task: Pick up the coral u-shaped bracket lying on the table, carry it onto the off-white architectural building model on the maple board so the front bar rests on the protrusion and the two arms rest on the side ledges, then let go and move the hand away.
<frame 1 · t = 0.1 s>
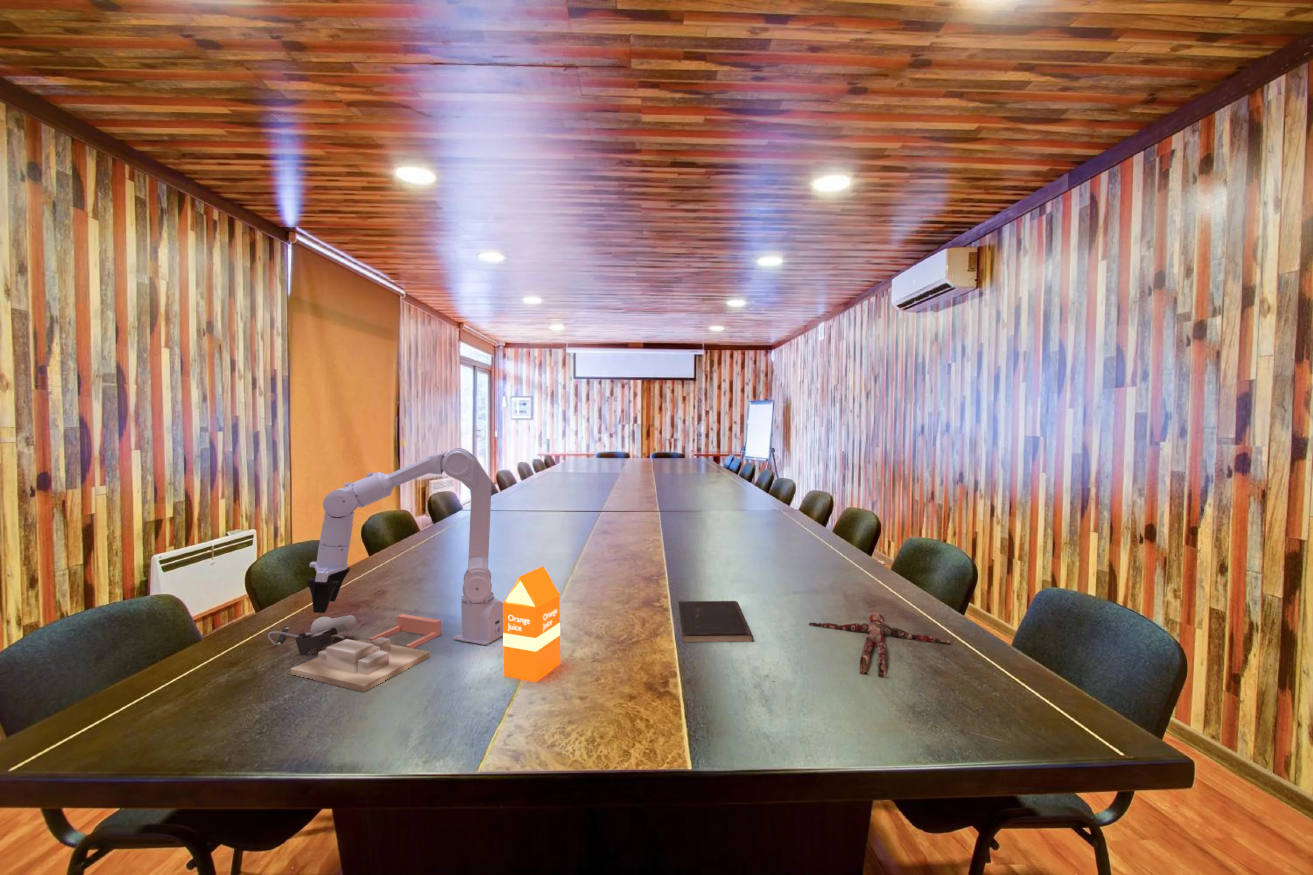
hand: (324, 606, 117), 11 cm above the table, tool pointing down, fingers open, 7 cm apart
mannequin: (874, 649, 119), on the table
clip-on lamp: (309, 645, 123), on the table
u-shaped bracket: (419, 632, 130), on the table
hardcover book: (712, 626, 134), on the table
orange juice: (533, 670, 109), on the table
architectural building model: (362, 665, 112), on the table
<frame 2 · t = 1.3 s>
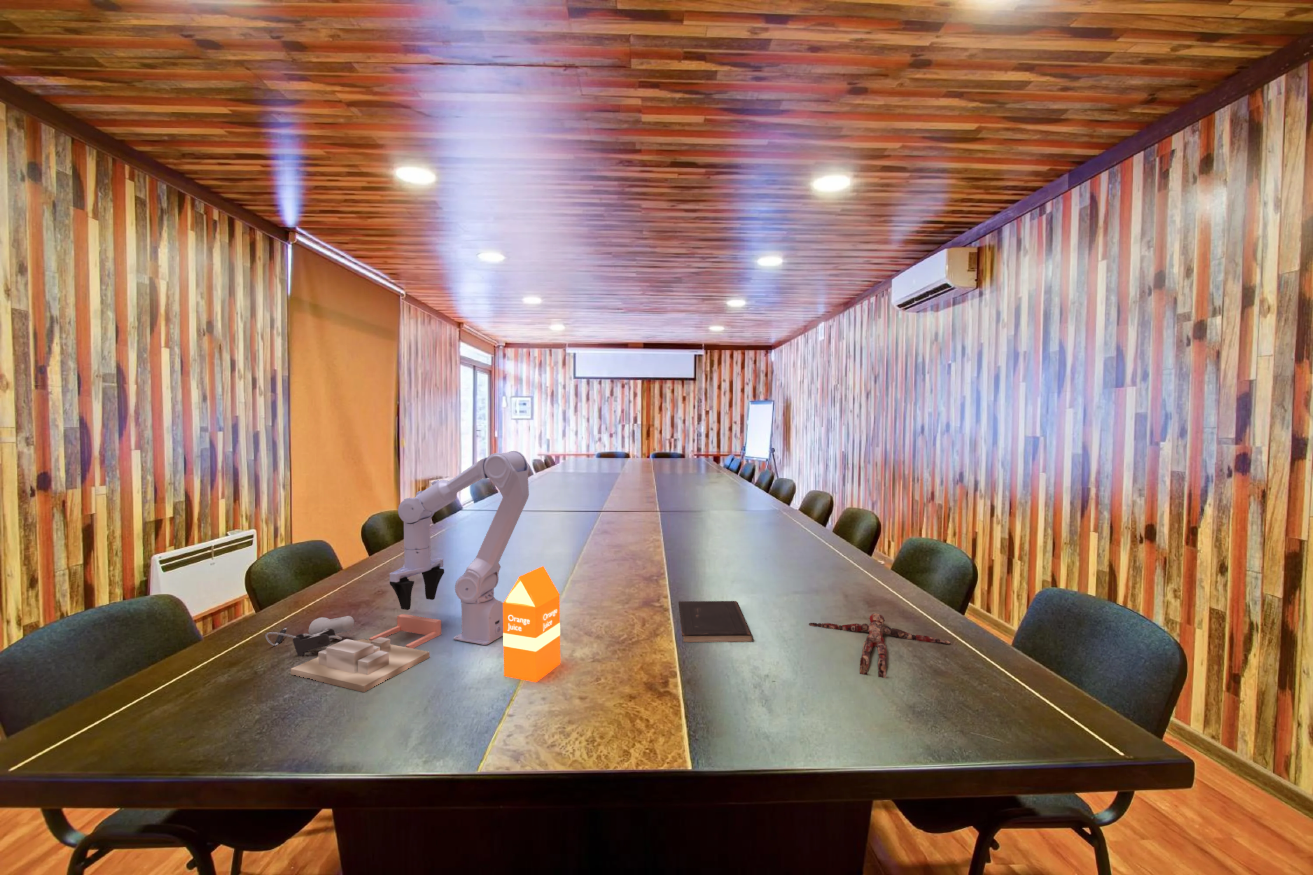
hand: (418, 603, 129), 7 cm above the table, tool pointing down, fingers open, 7 cm apart
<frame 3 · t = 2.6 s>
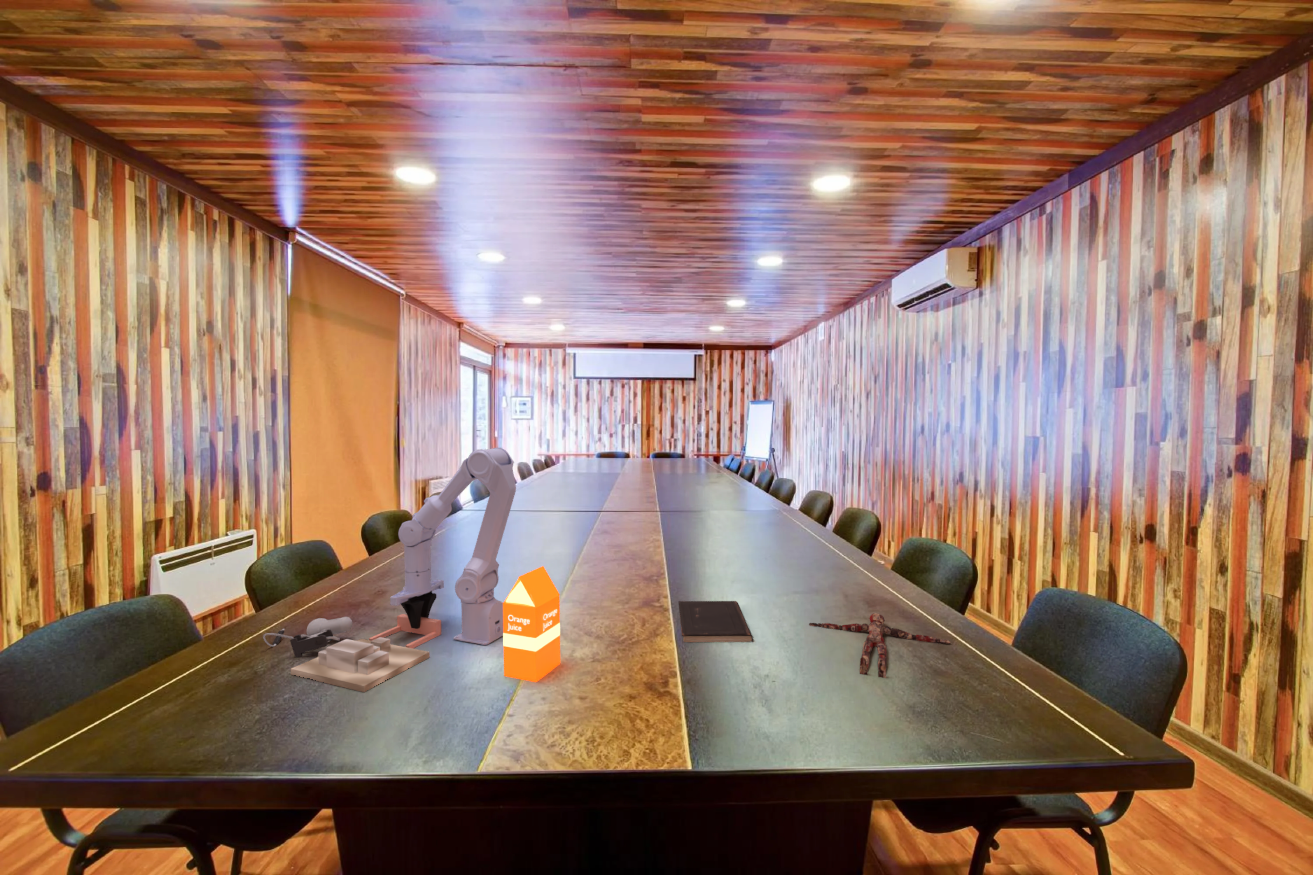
hand: (419, 626, 129), 1 cm above the table, tool pointing down, fingers closed on u-shaped bracket, 2 cm apart
u-shaped bracket: (419, 632, 130), on the table, touching gripper
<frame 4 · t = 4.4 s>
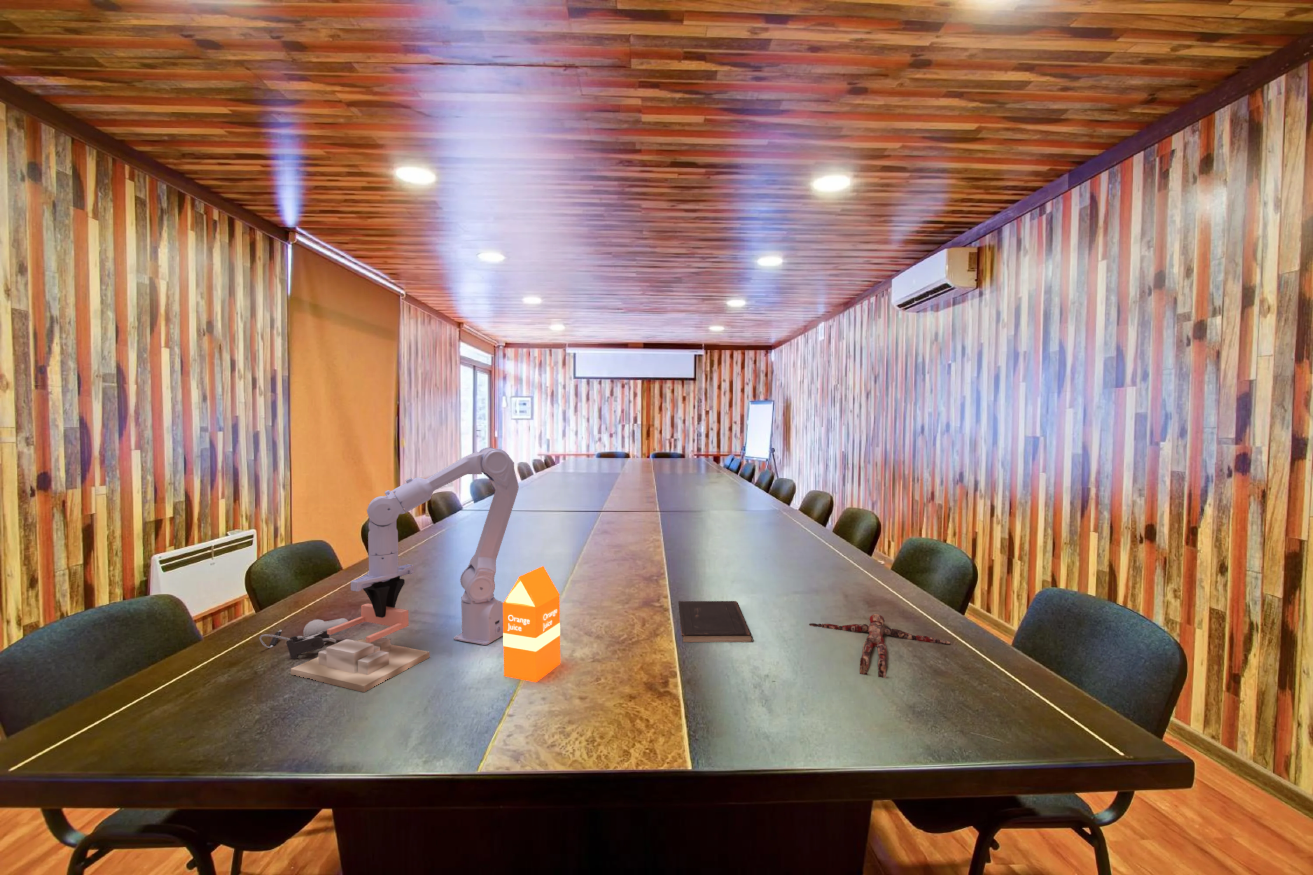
hand: (384, 614, 117), 8 cm above the table, tool pointing down, fingers closed on u-shaped bracket
u-shaped bracket: (384, 623, 117), point 7 cm above the table, touching gripper
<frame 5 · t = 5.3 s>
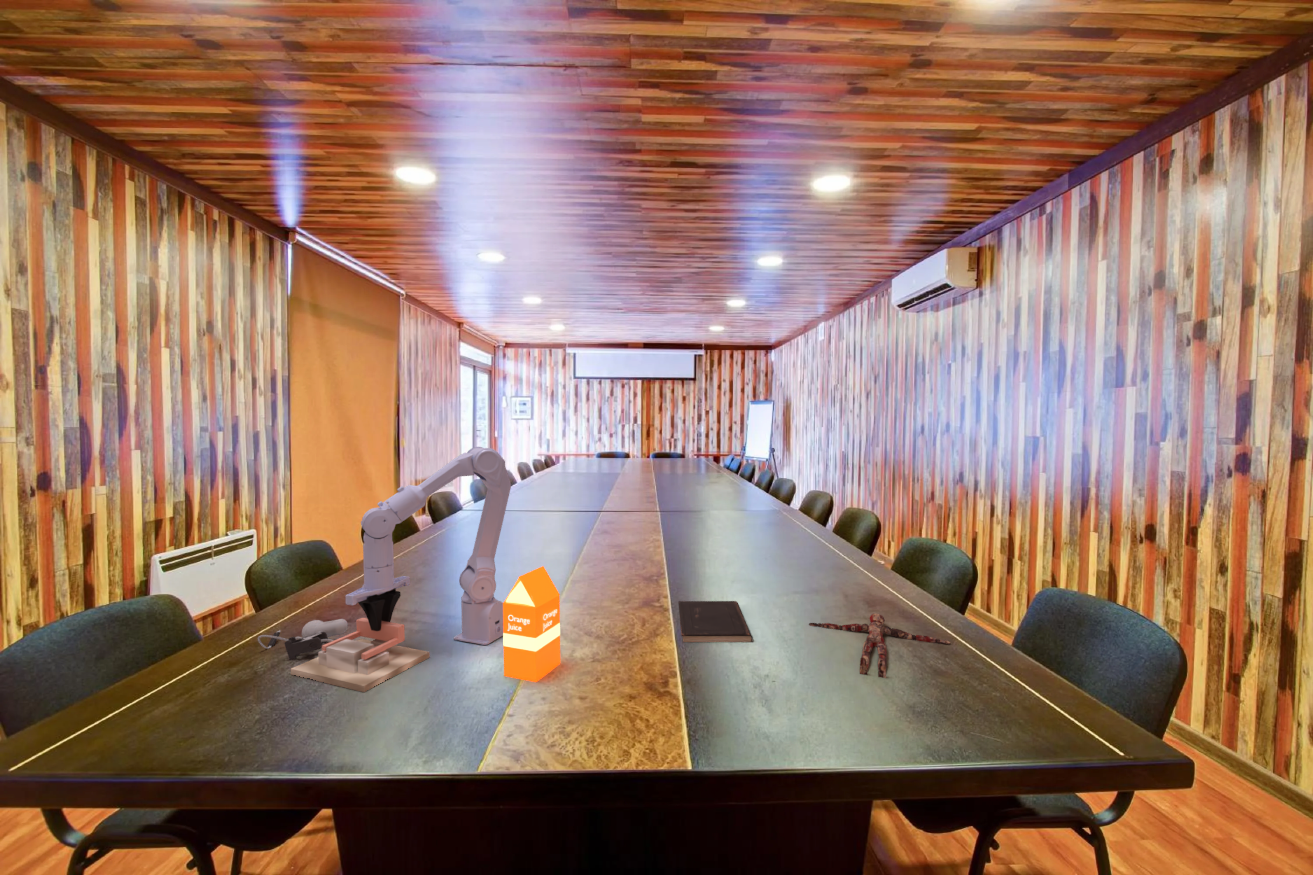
hand: (380, 628, 116), 6 cm above the table, tool pointing down, fingers closed on u-shaped bracket, 2 cm apart
u-shaped bracket: (380, 637, 116), point 4 cm above the table, touching gripper
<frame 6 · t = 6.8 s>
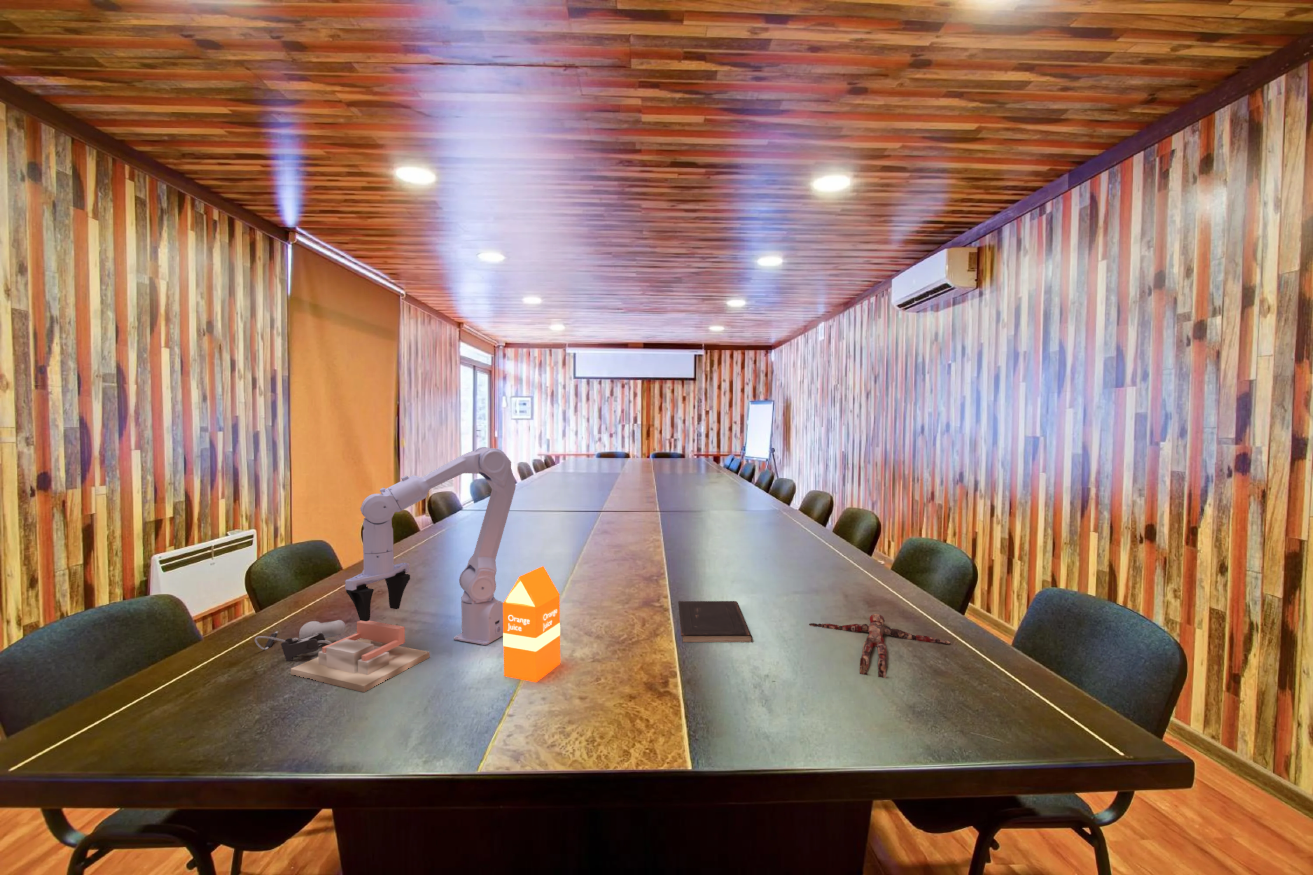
hand: (380, 614, 116), 9 cm above the table, tool pointing down, fingers open, 7 cm apart
u-shaped bracket: (380, 640, 116), point 4 cm above the table, touching architectural building model
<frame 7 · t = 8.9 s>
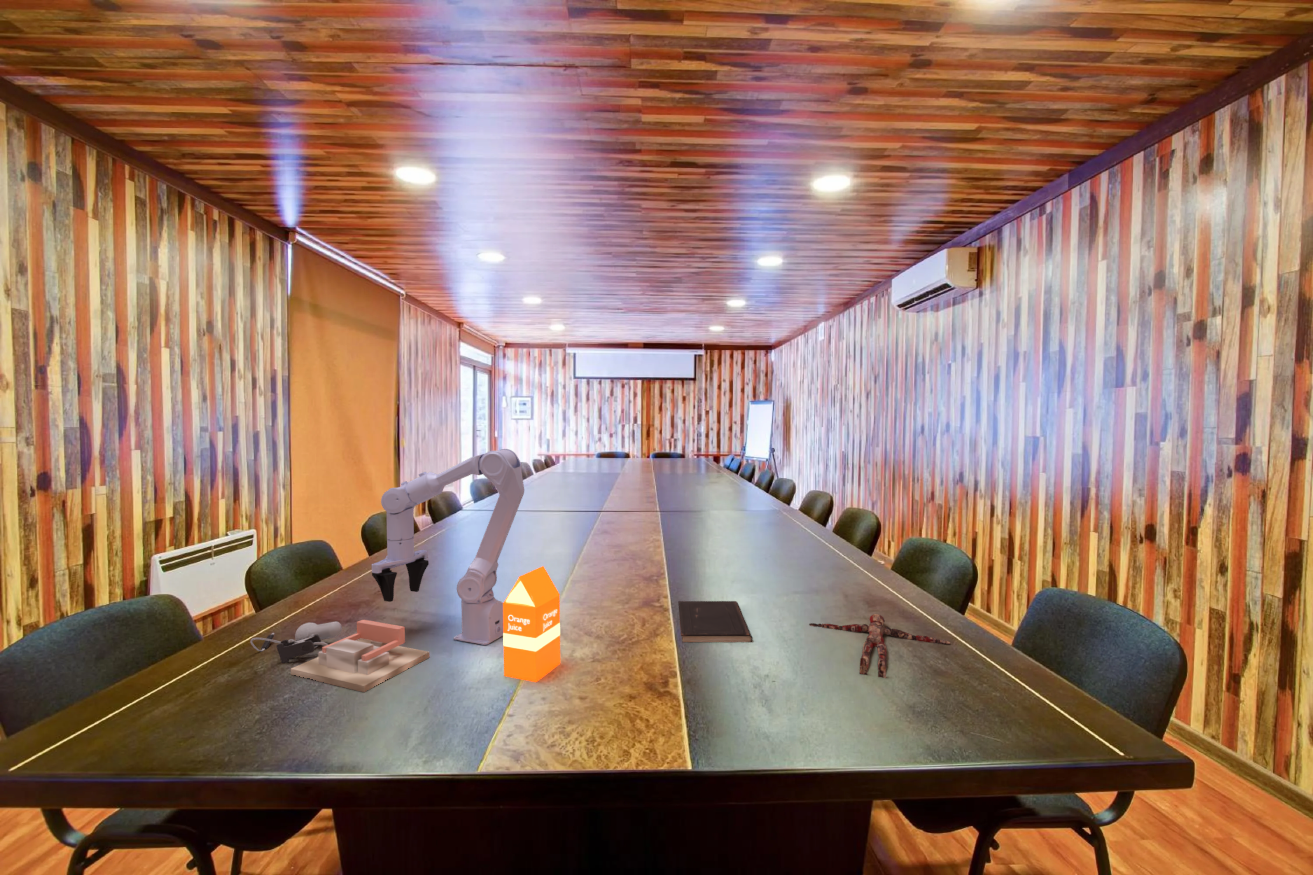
hand: (401, 595, 127), 9 cm above the table, tool pointing down, fingers open, 7 cm apart
at the end: u-shaped bracket 0.1 cm from the target spot on the architectural building model, point 3.6 cm above the architectural building model's base; u-shaped bracket tilted 0°; the gripper is holding nothing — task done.
